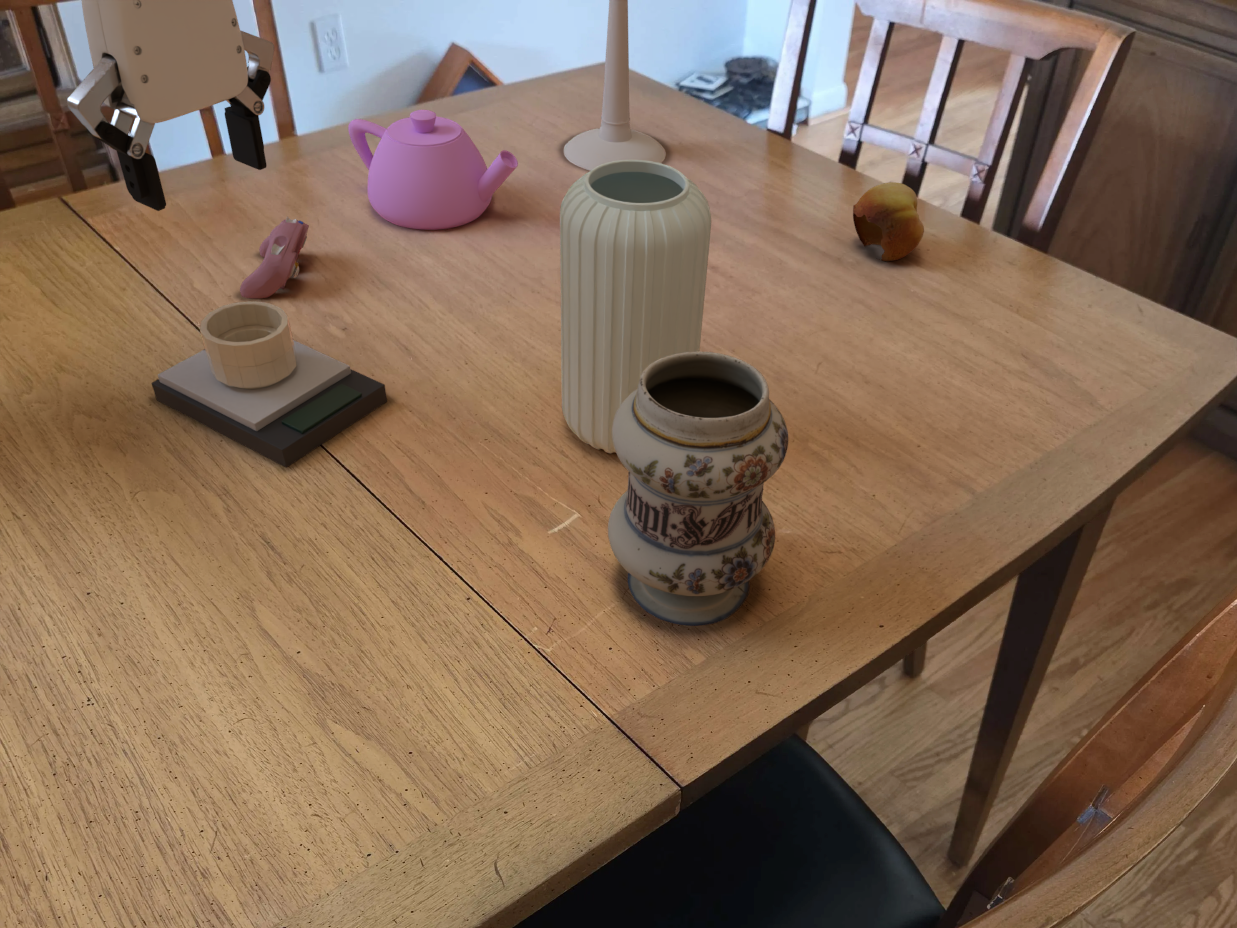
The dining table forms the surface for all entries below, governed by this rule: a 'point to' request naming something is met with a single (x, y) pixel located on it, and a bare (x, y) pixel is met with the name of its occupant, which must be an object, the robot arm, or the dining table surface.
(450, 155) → the teapot
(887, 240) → the fruit
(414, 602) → the dining table surface
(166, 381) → the scale
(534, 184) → the dining table surface
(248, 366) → the ring
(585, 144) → the candlestick
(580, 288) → the vase
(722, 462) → the apothecary jar
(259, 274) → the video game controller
